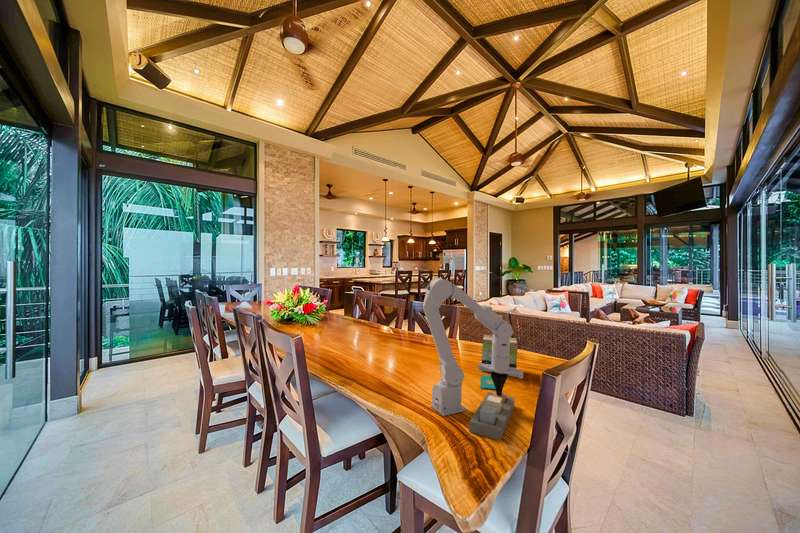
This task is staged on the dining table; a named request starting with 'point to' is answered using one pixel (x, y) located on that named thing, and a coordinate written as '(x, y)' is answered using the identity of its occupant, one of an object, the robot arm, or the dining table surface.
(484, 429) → the key panel
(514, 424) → the dining table surface
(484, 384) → the smartphone
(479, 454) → the dining table surface
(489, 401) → the white key
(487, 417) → the slate key
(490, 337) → the tea box
